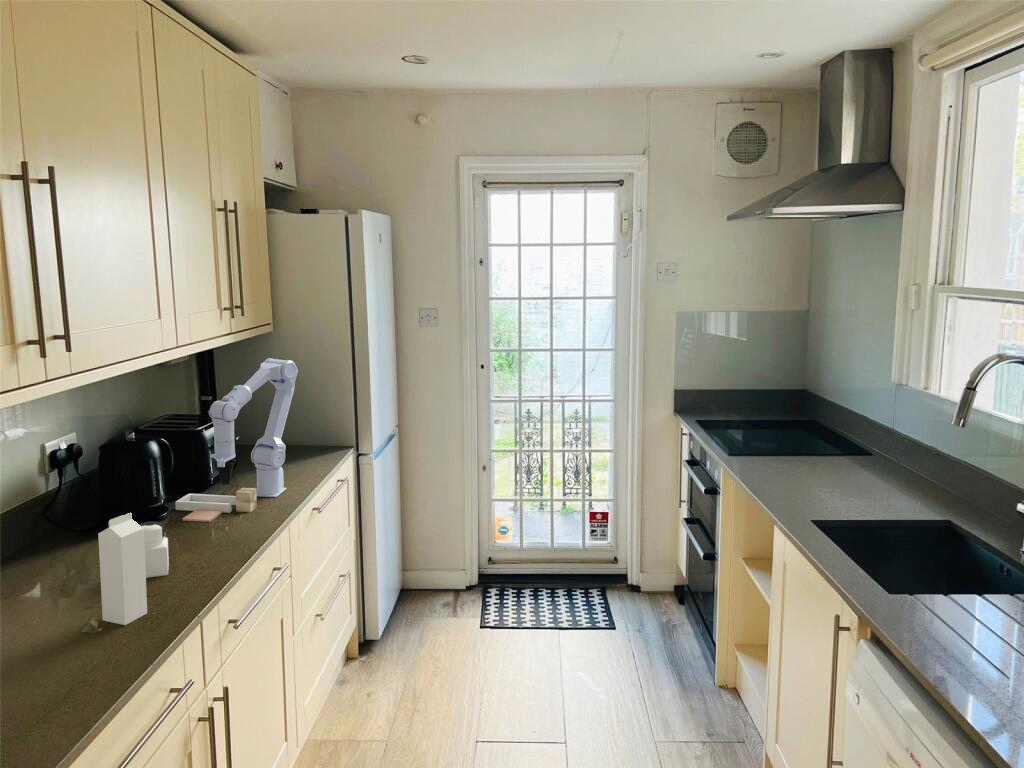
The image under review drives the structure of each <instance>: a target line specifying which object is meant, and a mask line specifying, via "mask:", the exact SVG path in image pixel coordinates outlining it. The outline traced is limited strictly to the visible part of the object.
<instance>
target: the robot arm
mask: <svg viewBox="0 0 1024 768" xmlns="http://www.w3.org/2000/svg"><path fill="white" fill-rule="evenodd" d="M298 373H299V369H298V367H297V365H296V363H295V362H294V361H293V360H290V359H288V360H284V359H279V358H278V359H276V358H272V357H268V358H266V359H265V360H264V361H263V362H261V363H260V366H259V369H258V370H257V371H256V372H255V373H254V374H253V375H252V376H251V377H249V379H248V380H247V381H246V382H245V383H244V384H243V385H242V384H238V385H234V386H233V387H232V390H231V391H229V393H227V394H226V395H223V397H222V399H220V400H216V401H213V403H212V404H211V405H210V407H209V410H208V415H209V417H210V418H211V422H212V424H213V439H214V440H213V442H214V443H213V446H214V453H211V454H210V458H211V459H215V462H214V463H213V465H214V467H215V469H216V471H217V472H218V476H219V480H220V483H221V485H223V486H224V485H230V484H231V480H232V479H231V478H232V472H233V469H234V466H235V464H236V459H235V458H236V455H237V454H236V447H235V445H236V444H235V420H236V419H237V417H238V415H239V413H240V411H241V409H242V408H243V407H244V406H245V405H246V404H247V403H249V402H250V401H251V400H252V398H253V393H254V392H255V391H257V390H258V389H259V388H260V387H262V386H263V385H265V384H266V383H267V382H268V381H269V382H270V383H271V385H273V386H274V387H275V394H274V397H273V402H272V405H271V409H270V412H269V416H268V419H267V422H266V423H267V424H266V427H265V429H264V430H265V431H264V434H263V436H262V437H260V438H259V439H257V441H256V443H255V446H254V447H253V449H252V451H251V453H250V459H251V461H252V463H253V464H254V467H255V468H256V496H257V497H264V498H265V497H266V498H277V497H278V496H280V495H281V494H282V493H283V492H286V490H287V487H285V486H284V484H285V483H284V469H283V467H282V466H283V464H284V463H285V460H286V449H287V448H286V447H287V446H286V444H285V443H284V442H283V441H282V437H283V434H284V430H285V427H286V421H287V418H288V415H289V411H290V407H291V405H292V403H291V402H292V399H293V397H294V396H293V395H294V392H295V389H296V387H295V386H296V380H297V377H298Z"/></svg>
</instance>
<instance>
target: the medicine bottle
mask: <svg viewBox="0 0 1024 768" xmlns="http://www.w3.org/2000/svg"><path fill="white" fill-rule="evenodd" d="M139 525H140V526H141V527H143V528H144V547H145V571H146V579H149V578H154V577H164V576H168V575H169V567H170V566H169V565H170V563H169V562H170V561H169V560H170V558H169V538H168V537H166V534H165V524H164V523H163V522H160V521H153V520H152V521H146V522H144V523H141V524H139Z"/></svg>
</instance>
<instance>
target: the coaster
mask: <svg viewBox="0 0 1024 768" xmlns="http://www.w3.org/2000/svg"><path fill="white" fill-rule="evenodd" d="M221 514H223V512H222V511H209V510H195V511H192V512H191V513H188V514H187V515H186V516H184V517H183V518H182V521H186V522H187V521H188V522H204V523H210V522H211V521H213V520H215V519H216V518H217V517H219V516H220V515H221Z"/></svg>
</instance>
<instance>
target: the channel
mask: <svg viewBox="0 0 1024 768" xmlns="http://www.w3.org/2000/svg"><path fill="white" fill-rule="evenodd" d="M232 506H236V495H220V494H204V493H203V494H202V493H188V494H186V495H184V496H182V497H181V498H179V499H178V500H176V501H175V510H176V511H189V512H190V511H192V512H193V511H195V510H209V511H222V513H231V512H232Z"/></svg>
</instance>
